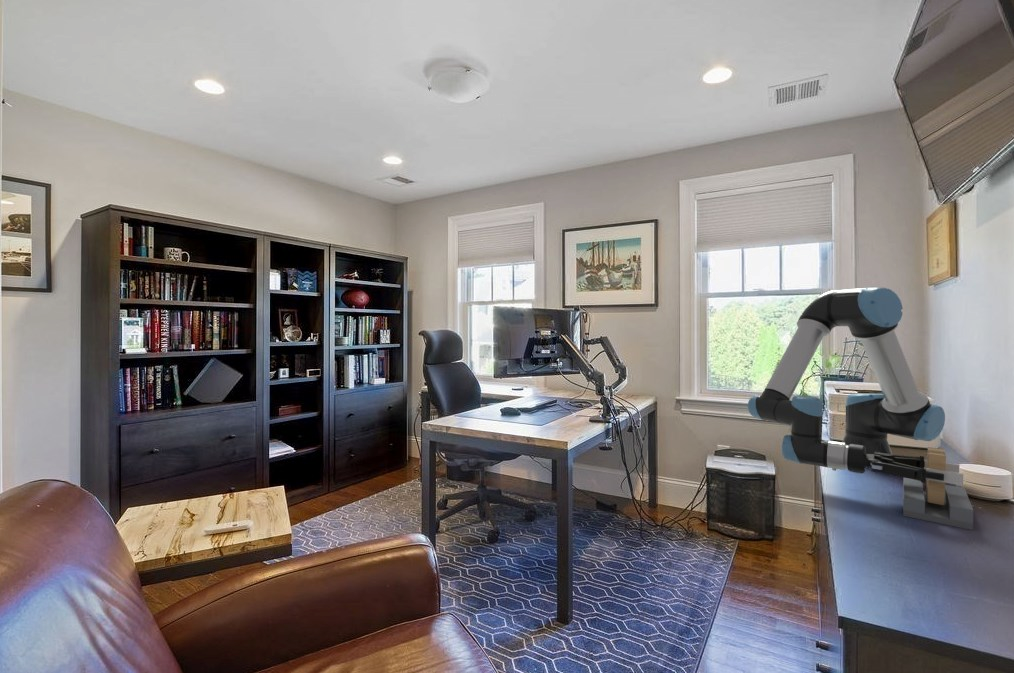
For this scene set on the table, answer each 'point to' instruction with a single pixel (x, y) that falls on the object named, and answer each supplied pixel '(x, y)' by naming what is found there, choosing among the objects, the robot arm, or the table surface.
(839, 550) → the table surface
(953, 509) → the grooved sill
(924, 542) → the table surface
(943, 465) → the oak plank
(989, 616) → the table surface
